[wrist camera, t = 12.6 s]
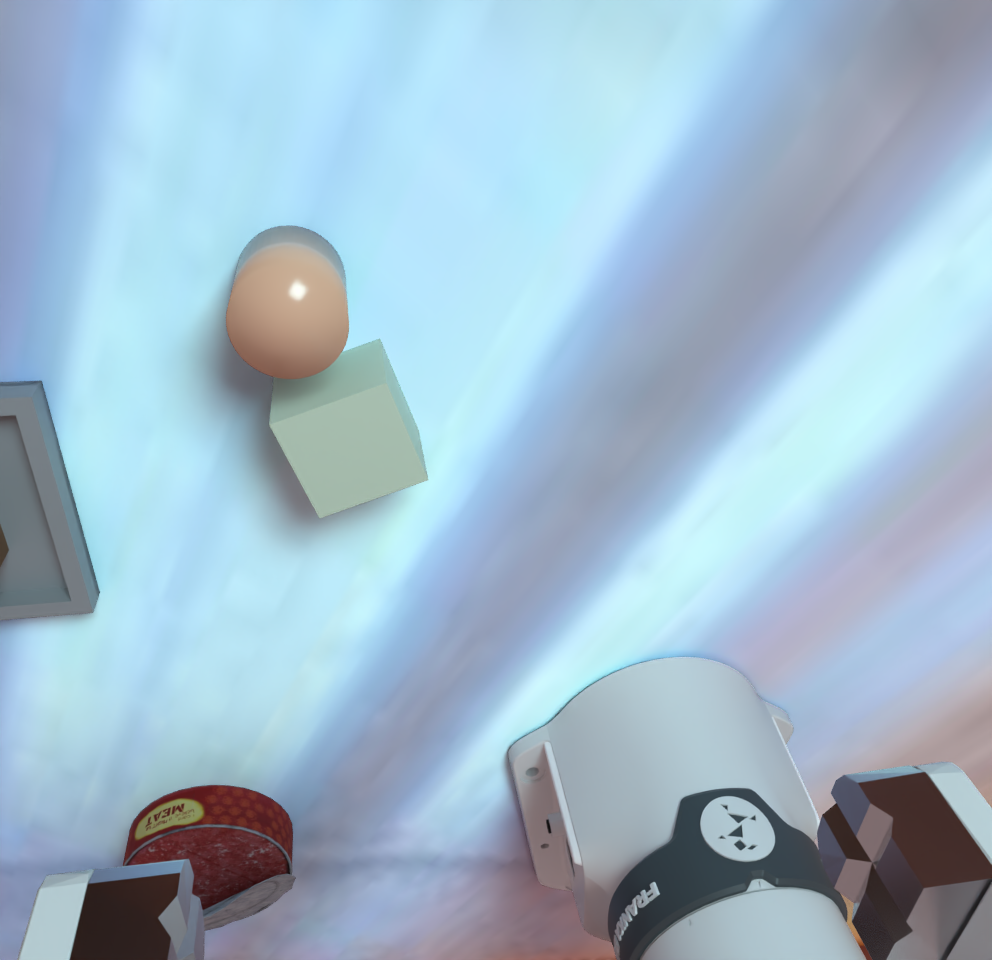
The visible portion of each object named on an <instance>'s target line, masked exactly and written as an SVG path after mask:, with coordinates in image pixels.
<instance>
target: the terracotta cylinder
mask: <svg viewBox="0 0 992 960" xmlns="http://www.w3.org/2000/svg"><path fill="white" fill-rule="evenodd" d="M226 327H227V332H228V336H229V338H230V341H231V343H232V345H233V347H234V349H235V350H236V352H237V353H238V354H239V355H240V357H241V358H242V359H243V360H244V361H245V362H246V363H248V364H249V365H250V366H252V367H253V368H254V369H256V370H258V371H260V372H262V373H264V374H266V375H269V376H272V377H276V378H282V379H300V378H305V377H309V376H312V375H315V374H317V373H319V372H321V371H323V370H325V369H326V368H328V367H329V366H330V365H331V364H332V363H334V361H335V360H336V359H337V358H338V357H339V355H340V354H341V352H342V351H343V349H344V347H345V344H346V341H347V338H348V332H349V319H348V305H347V291H346V277H345V270H344V266H343V263H342V261H341V258H340V256H339V255H338V253H337V251H336V250H335V249H334V247H333V246H332V245H331V244H330V243H329V242H328V241H327V240H326V239H324V238H323V237H322V236H320V235H319V234H317V233H315V232H313V231H311V230H309V229H306V228H302V227H298V226H278V227H273V228H270V229H267V230H265V231H263V232H261V233H259V234H258V235H257V236H255V237H254V238H253V239H252V240H251V241H250V242H249V243H248V244H247V245H246V247H245V248H244V250H243V251H242V253H241V256H240V258H239V262H238V266H237V270H236V274H235V279H234V283H233V287H232V291H231V295H230V300H229V304H228V308H227V313H226Z"/></svg>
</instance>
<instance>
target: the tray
mask: <svg viewBox="0 0 992 960" xmlns="http://www.w3.org/2000/svg"><path fill="white" fill-rule="evenodd" d="M0 524H1V527H2V530H3V533H4V536H5V539H6V542H7V545H8V548H9V551H8V553H7V555H6V557H5V559H4V561H3V563H2V565H1V567H0V620H8V619H21V618H33V617H46V616H58V615H70V614H83V613H93V611H94V608H95V605H96V602H97V599H98V596H99V593H100V592H99V588H98V585H97V581H96V577H95V574H94V570H93V566H92V563H91V559H90V555H89V552H88V548H87V544H86V541H85V537H84V534H83V530H82V526H81V523H80V519H79V515H78V512H77V508H76V504H75V501H74V497H73V493H72V490H71V486H70V483H69V479H68V475H67V472H66V468H65V464H64V461H63V457H62V453H61V450H60V446H59V442H58V439H57V435H56V432H55V428H54V424H53V421H52V417H51V413H50V410H49V406H48V402H47V399H46V395H45V391H44V388H43V384H42V381H23V382H0Z"/></svg>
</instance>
